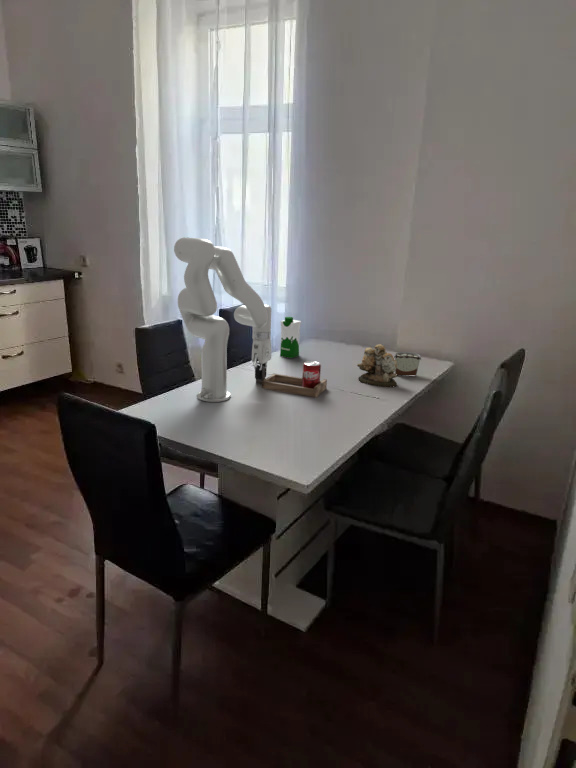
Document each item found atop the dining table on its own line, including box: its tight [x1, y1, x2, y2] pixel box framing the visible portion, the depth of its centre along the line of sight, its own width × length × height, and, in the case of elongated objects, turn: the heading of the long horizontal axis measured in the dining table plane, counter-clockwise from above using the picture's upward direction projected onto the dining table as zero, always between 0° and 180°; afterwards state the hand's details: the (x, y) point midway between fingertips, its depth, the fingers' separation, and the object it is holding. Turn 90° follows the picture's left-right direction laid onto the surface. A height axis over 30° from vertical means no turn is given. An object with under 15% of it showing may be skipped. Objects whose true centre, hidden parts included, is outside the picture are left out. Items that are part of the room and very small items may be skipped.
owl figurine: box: [356, 343, 398, 388], centre depth 227 cm, size 18×12×17 cm, turn 65°
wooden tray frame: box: [255, 366, 328, 398], centre depth 217 cm, size 12×29×7 cm, turn 68°
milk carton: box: [279, 316, 302, 359], centre depth 264 cm, size 9×9×20 cm
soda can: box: [301, 360, 322, 389], centre depth 213 cm, size 7×7×12 cm
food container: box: [393, 351, 422, 376], centre depth 242 cm, size 12×6×10 cm, turn 84°
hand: (260, 377), depth 222 cm, fingers closed on wooden tray frame, 3 cm apart
